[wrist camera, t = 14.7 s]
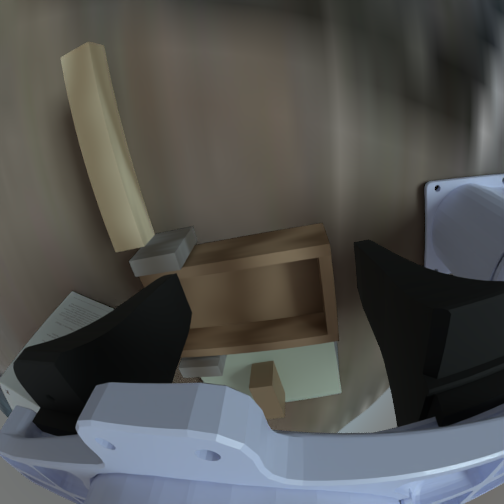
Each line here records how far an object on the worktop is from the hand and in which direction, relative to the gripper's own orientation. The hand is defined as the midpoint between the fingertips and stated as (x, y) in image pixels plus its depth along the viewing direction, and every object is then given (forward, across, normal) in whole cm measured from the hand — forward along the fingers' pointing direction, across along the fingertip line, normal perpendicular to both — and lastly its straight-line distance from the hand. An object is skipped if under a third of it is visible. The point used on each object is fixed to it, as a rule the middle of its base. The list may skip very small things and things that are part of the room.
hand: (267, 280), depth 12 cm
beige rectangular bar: (+6, +8, -7) cm, 12 cm away
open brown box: (+10, +3, +6) cm, 12 cm away
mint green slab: (+10, +4, +16) cm, 19 cm away
